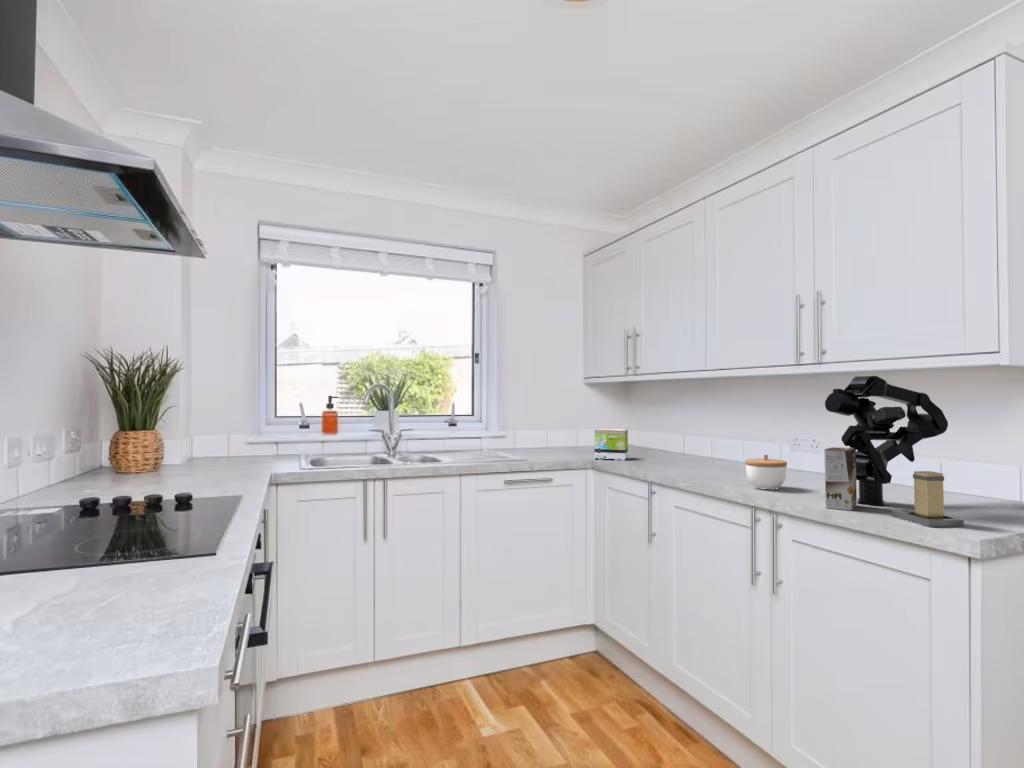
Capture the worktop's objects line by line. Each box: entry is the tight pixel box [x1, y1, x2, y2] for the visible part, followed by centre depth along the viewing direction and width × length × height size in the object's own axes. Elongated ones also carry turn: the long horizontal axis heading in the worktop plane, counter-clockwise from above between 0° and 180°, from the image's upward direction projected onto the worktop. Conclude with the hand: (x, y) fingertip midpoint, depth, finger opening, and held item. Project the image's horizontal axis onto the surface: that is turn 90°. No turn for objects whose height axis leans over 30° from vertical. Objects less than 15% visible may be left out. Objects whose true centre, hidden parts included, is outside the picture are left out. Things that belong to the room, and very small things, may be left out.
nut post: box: [912, 470, 945, 519], centre depth 135 cm, size 4×4×12 cm
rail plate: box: [890, 509, 965, 528], centre depth 136 cm, size 12×8×2 cm
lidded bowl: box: [744, 454, 788, 489], centre depth 185 cm, size 13×13×11 cm
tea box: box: [593, 427, 629, 460], centre depth 271 cm, size 15×10×15 cm, turn 72°
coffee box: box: [824, 446, 858, 511], centre depth 154 cm, size 9×6×16 cm
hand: (896, 460), depth 145 cm, fingers open, 9 cm apart
